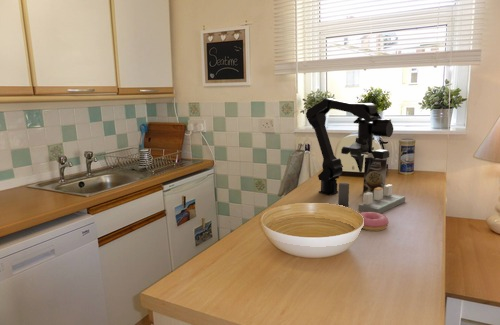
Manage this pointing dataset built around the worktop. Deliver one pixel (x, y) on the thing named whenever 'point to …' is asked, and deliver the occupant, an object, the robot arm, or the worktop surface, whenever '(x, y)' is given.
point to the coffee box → (375, 176)
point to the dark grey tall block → (343, 194)
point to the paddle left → (367, 198)
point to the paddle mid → (378, 193)
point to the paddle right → (388, 190)
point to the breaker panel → (382, 204)
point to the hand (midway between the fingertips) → (363, 172)
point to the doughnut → (374, 221)
